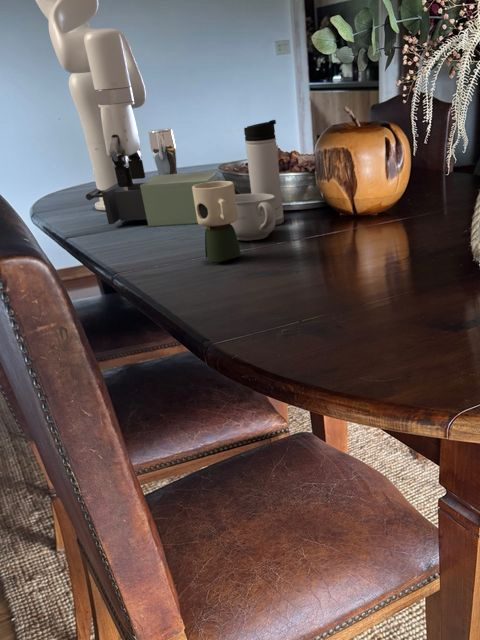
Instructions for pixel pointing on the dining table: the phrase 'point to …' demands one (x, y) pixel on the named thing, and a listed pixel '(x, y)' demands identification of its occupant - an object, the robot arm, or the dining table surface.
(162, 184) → the cabinet
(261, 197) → the teacup
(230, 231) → the character mug
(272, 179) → the travel mug
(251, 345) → the dining table surface
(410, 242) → the dining table surface
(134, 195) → the drawer
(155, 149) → the beer glass
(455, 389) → the dining table surface
